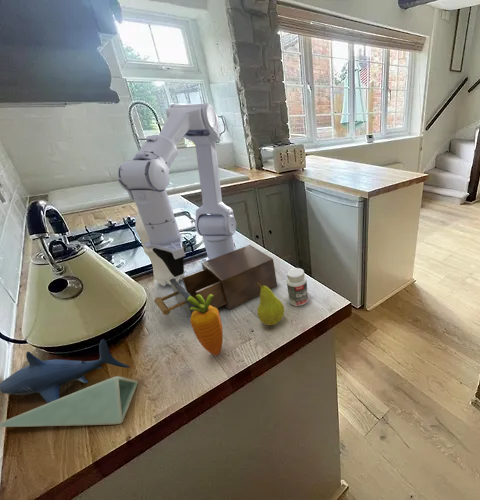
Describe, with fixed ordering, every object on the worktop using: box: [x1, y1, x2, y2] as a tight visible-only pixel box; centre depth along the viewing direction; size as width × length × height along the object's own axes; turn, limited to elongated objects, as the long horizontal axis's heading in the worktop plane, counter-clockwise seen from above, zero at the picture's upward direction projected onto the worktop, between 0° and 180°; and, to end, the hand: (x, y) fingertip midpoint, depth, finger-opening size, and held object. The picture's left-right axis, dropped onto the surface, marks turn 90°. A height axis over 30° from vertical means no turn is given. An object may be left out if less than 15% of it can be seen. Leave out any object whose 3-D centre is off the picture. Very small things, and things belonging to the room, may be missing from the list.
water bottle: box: [134, 210, 185, 287], centre depth 77 cm, size 7×7×25 cm
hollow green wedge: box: [0, 375, 139, 428], centre depth 47 cm, size 8×6×18 cm
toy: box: [0, 338, 130, 404], centre depth 51 cm, size 10×22×10 cm, turn 96°
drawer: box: [153, 268, 227, 319], centre depth 70 cm, size 17×10×7 cm, turn 136°
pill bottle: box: [286, 267, 309, 307], centre depth 72 cm, size 5×5×8 cm
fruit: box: [256, 282, 285, 326], centre depth 65 cm, size 6×6×12 cm
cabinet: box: [201, 244, 278, 311], centre depth 77 cm, size 14×12×9 cm
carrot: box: [187, 294, 224, 357], centre depth 56 cm, size 5×5×15 cm
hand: (178, 274), depth 68 cm, fingers closed
